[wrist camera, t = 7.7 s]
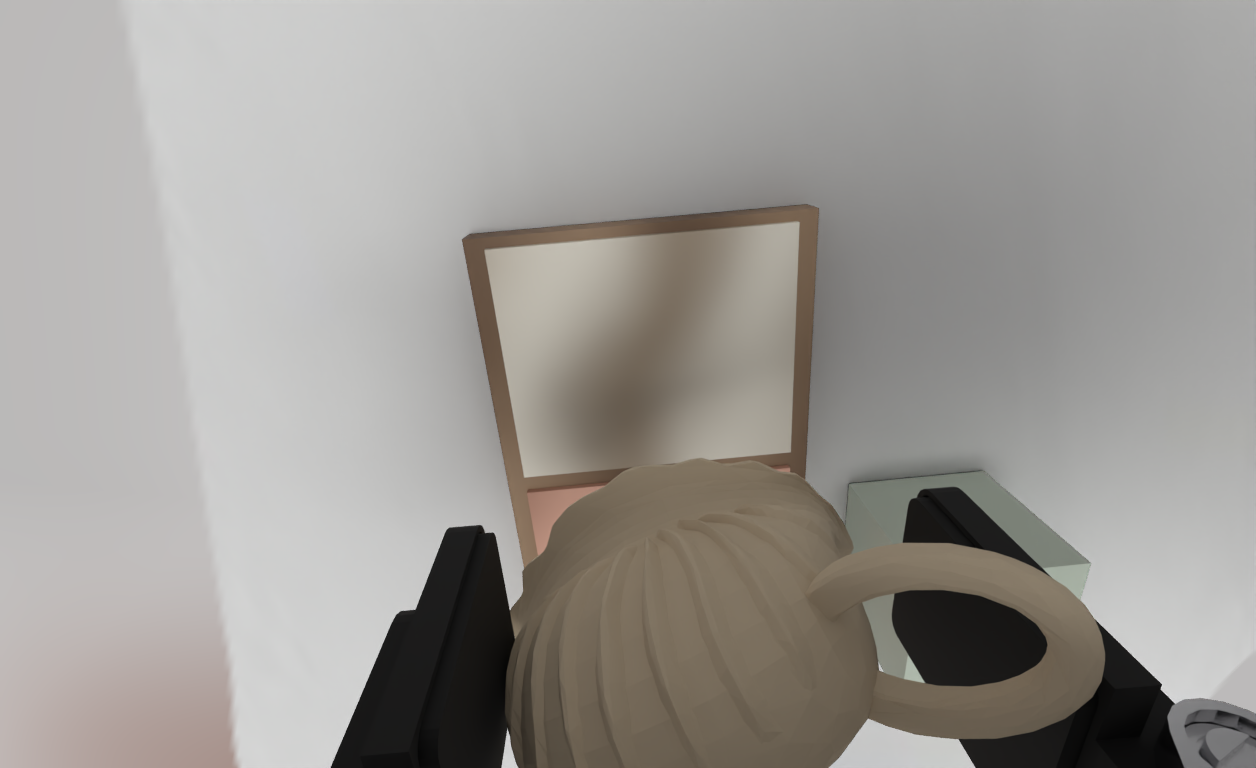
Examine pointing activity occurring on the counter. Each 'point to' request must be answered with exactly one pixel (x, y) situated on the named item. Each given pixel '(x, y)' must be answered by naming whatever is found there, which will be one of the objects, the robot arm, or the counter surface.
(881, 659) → the die
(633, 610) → the decorative ornament
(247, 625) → the counter surface
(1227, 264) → the counter surface
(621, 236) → the brown framed panel
